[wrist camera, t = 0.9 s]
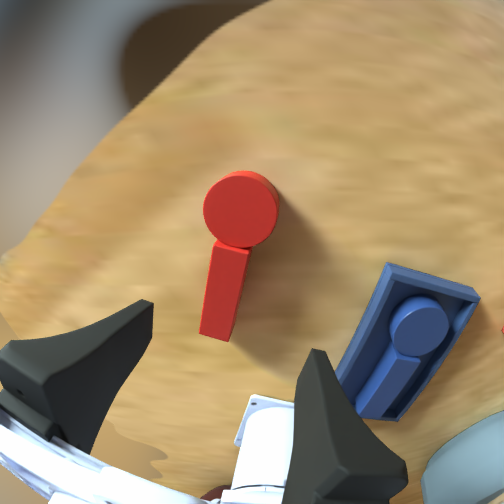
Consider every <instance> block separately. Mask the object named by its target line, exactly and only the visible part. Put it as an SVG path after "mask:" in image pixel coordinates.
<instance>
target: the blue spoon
mask: <svg viewBox="0 0 504 504" xmlns="http://www.w3.org/2000/svg"><path fill="white" fill-rule="evenodd" d="M448 328H449V320H448V316H447V314H446V313H445V311H444V309H443V308H442V306H441V305H440V303H439V301H438V300H437V299H436V298H435V297H433V296H431V295H428V294H416V295H412V296H409V297H407V298H405V299H404V300H402V301H401V302H400V303H399V304H398V305H397V306H396V307H395V308H394V309H393V311H392V313H391V315H390V317H389V321H388V329H389V332H390V335H391V338H392V340H391V341H390V342H389V344H388V346H387V348H386V350H385V351H384V353H383V355H382V356H381V358H380V360H379V361H378V363H377V365H376V366H375V368H374V370H373V371H372V373H371V375H370V376H369V378H368V379H367V381H366V383H365V384H364V386H363V387H362V389H361V390H360V392H359V393H358V395H357V396H356V398H355V400H356V409H357V413H358V415H359V416H360V417H365V418H373V419H380V418H381V416H382V415H383V414H384V413H385V411H386V410H387V409H388V407H389V406H390V405H391V404H392V402H393V401H394V400H395V398H396V397H397V396H398V394H399V393H400V391H401V390H402V389H403V387H404V386H405V384H406V383H407V382H408V380H409V379H410V377H411V376H412V374H413V373H414V371H415V370H416V368H417V367H418V365H419V364H420V359H419V357H418V356H421V355H424V354H426V353H429V352H430V351H432V350H434V349H435V348H436V347H437V346H438V345H439V344H440V343H441V342H442V341H443V340H444V338H445V336H446V334H447V332H448Z"/></svg>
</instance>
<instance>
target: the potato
mask: <svg viewBox="0 0 504 504" xmlns="http://www.w3.org/2000/svg"><path fill="white" fill-rule="evenodd" d="M231 486H232V485H223V486H219V487H216V488H214V489H213V490H211V491H210V492H208V493H207V494H205V495H204V496H202V497H201V498H200V499H203V500H207V501H210V502H211V501H212V500H214V499H221V498H222V494H223V490H231Z"/></svg>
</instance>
